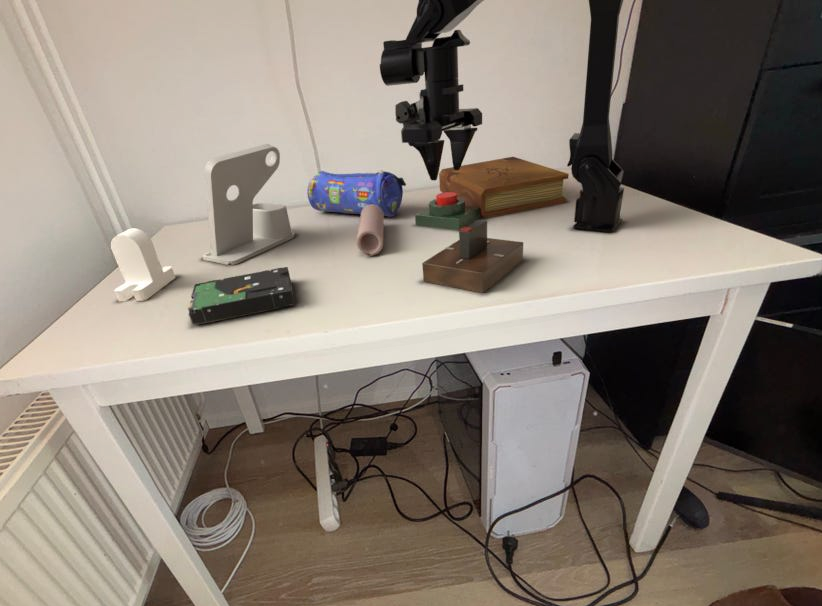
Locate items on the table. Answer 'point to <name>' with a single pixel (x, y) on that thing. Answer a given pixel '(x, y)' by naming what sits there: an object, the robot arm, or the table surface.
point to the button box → (448, 215)
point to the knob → (473, 239)
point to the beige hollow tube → (371, 230)
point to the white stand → (138, 266)
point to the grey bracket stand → (243, 206)
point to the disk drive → (240, 295)
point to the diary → (504, 185)
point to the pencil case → (355, 192)
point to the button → (446, 198)
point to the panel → (473, 265)
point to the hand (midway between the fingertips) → (445, 174)
